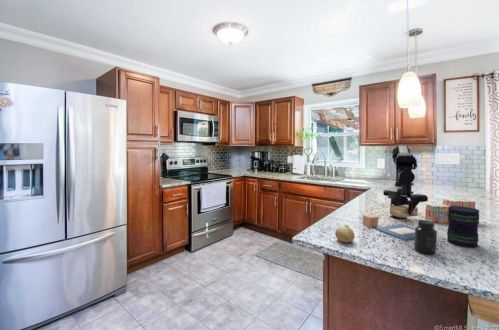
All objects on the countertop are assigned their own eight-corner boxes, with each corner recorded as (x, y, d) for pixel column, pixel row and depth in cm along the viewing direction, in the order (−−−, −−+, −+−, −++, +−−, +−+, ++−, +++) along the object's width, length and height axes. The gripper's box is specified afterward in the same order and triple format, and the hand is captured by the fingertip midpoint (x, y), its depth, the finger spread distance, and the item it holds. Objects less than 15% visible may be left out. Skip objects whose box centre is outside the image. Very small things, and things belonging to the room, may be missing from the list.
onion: (356, 245, 98) (357, 228, 98) (337, 244, 99) (337, 227, 99) (351, 238, 106) (352, 223, 106) (333, 237, 107) (333, 222, 107)
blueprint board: (401, 225, 123) (401, 223, 123) (433, 235, 108) (433, 234, 108) (374, 229, 118) (374, 227, 118) (404, 240, 103) (404, 238, 102)
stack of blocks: (432, 223, 128) (433, 200, 127) (424, 219, 134) (425, 198, 133) (474, 223, 126) (475, 201, 125) (465, 220, 132) (466, 198, 131)
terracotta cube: (370, 223, 128) (370, 214, 127) (377, 226, 123) (377, 216, 122) (362, 224, 126) (363, 215, 126) (370, 227, 121) (370, 217, 121)
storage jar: (471, 250, 92) (473, 212, 92) (442, 241, 101) (443, 207, 100) (482, 245, 97) (484, 209, 96) (453, 237, 106) (454, 205, 105)
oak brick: (405, 212, 117) (406, 204, 116) (417, 215, 111) (417, 207, 111) (389, 214, 114) (389, 206, 114) (400, 217, 108) (400, 209, 108)
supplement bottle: (409, 248, 94) (410, 219, 94) (425, 247, 95) (426, 218, 94) (424, 256, 87) (425, 224, 87) (440, 255, 88) (442, 224, 87)
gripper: (375, 179, 118) (374, 209, 119) (410, 184, 100) (409, 219, 101) (392, 178, 121) (391, 207, 122) (429, 182, 104) (428, 217, 104)
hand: (403, 212), depth 112 cm, fingers closed on oak brick, 6 cm apart
